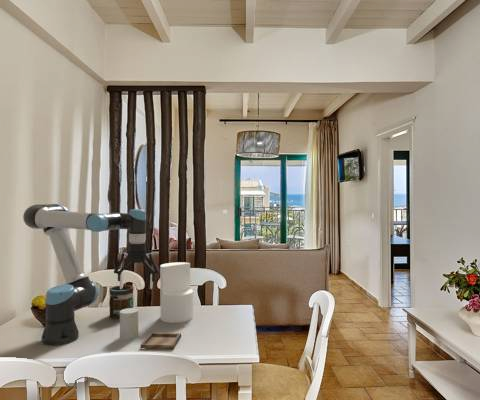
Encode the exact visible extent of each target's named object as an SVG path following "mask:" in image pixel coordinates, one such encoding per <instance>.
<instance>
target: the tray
mask: <svg viewBox="0 0 480 400" xmlns="http://www.w3.org/2000/svg"><path fill="white" fill-rule="evenodd" d="M181 338H182V333H181V332H179V333H178V332H150V334H148V336H147V337H146V338H145V339H144V340H143V341H142V342H141V343H140V349H141V348H145V349H144V350H170V351H171V350H172V351H173V350H174V349H175V348H176V346H177V345H178V343H179V342H180V340H181Z"/></svg>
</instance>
